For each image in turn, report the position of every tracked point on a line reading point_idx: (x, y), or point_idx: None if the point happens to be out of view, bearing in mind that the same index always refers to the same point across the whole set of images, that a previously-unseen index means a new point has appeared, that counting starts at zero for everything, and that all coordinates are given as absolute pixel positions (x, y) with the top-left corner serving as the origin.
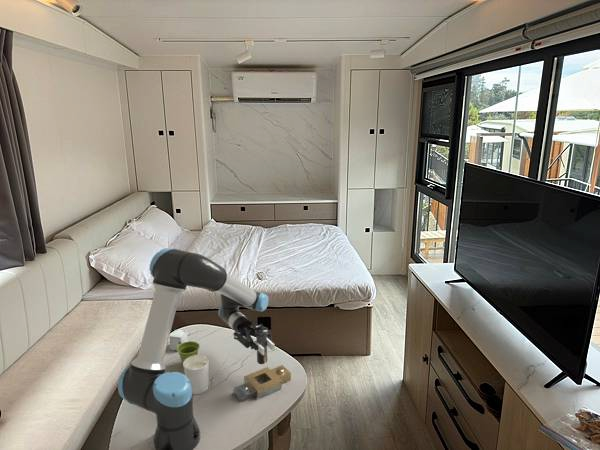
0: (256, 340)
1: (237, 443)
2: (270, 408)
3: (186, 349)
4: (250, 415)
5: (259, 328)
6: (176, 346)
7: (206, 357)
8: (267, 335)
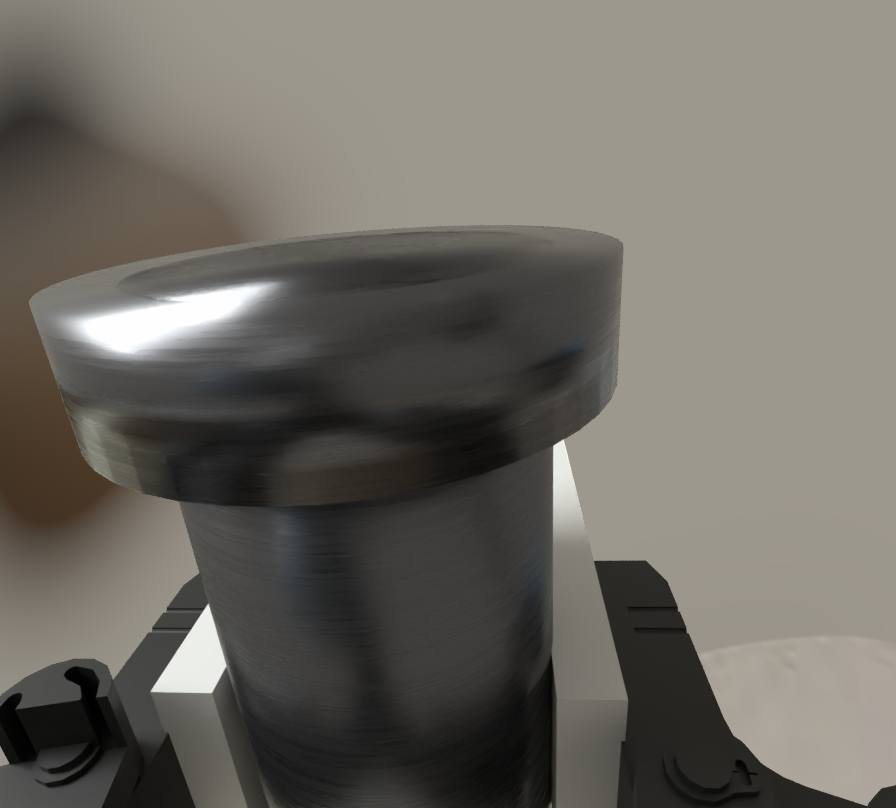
0: (540, 675)
1: (872, 639)
2: None
3: None
4: None
5: (323, 274)
6: None
7: None
8: (80, 673)
